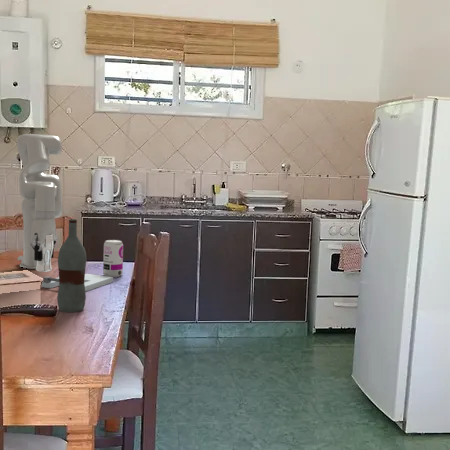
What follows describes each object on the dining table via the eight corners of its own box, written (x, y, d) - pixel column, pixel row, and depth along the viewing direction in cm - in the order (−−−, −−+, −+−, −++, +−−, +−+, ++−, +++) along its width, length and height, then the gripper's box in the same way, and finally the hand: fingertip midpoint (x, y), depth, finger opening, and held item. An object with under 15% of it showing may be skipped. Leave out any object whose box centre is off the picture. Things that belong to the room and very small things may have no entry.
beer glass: (47, 272, 221) (47, 235, 218) (31, 270, 222) (31, 234, 220) (56, 269, 228) (56, 233, 225) (40, 267, 229) (41, 231, 227)
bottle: (70, 314, 179) (72, 222, 176) (50, 309, 184) (51, 219, 180) (91, 308, 187) (93, 220, 184) (72, 303, 192) (73, 217, 188)
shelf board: (41, 287, 213) (41, 277, 213) (76, 276, 234) (76, 267, 234) (80, 293, 207) (81, 282, 207) (113, 281, 228) (113, 272, 228)
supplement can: (124, 274, 244) (125, 240, 243) (119, 277, 236) (120, 243, 234) (106, 272, 245) (107, 239, 243) (100, 276, 237) (101, 241, 235)
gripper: (50, 211, 231) (50, 253, 233) (22, 216, 215) (21, 261, 217) (66, 213, 228) (65, 256, 231) (38, 218, 212) (37, 264, 215)
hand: (44, 258), depth 224 cm, fingers closed on beer glass, 6 cm apart
